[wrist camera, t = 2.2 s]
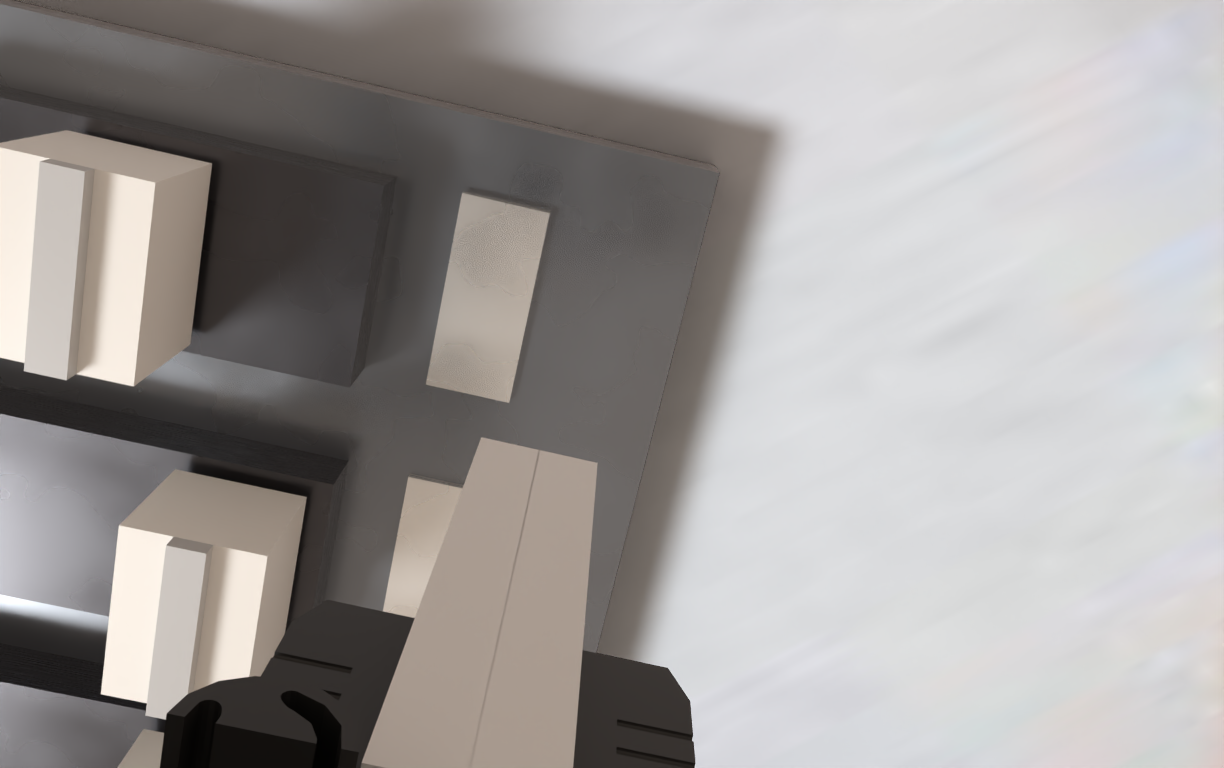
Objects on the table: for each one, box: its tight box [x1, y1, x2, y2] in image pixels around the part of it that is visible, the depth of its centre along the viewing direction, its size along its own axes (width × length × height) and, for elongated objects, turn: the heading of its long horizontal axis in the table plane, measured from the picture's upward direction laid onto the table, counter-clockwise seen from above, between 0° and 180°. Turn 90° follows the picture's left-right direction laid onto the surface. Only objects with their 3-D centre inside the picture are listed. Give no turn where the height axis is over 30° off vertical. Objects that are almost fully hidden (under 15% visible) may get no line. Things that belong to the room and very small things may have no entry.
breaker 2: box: [101, 469, 307, 720], centre depth 25 cm, size 3×4×3 cm
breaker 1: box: [0, 130, 212, 386], centre depth 22 cm, size 3×4×3 cm
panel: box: [0, 0, 720, 768], centre depth 28 cm, size 24×22×3 cm
